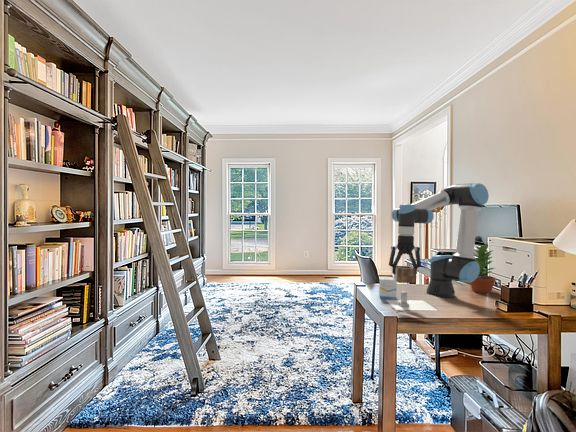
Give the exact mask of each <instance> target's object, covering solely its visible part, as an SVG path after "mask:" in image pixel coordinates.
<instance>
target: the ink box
mask: <svg viewBox="0 0 576 432" xmlns="http://www.w3.org/2000/svg"><path fill="white" fill-rule="evenodd" d="M397 283H398V282H397V281H395V280H394V276H392V277H391V276H380V277H379V290H378V292H379V293H378V294H379V295H378V297H379V298H380V299H381V300H397V291H398V290H397V286H398V285H397Z"/></svg>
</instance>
